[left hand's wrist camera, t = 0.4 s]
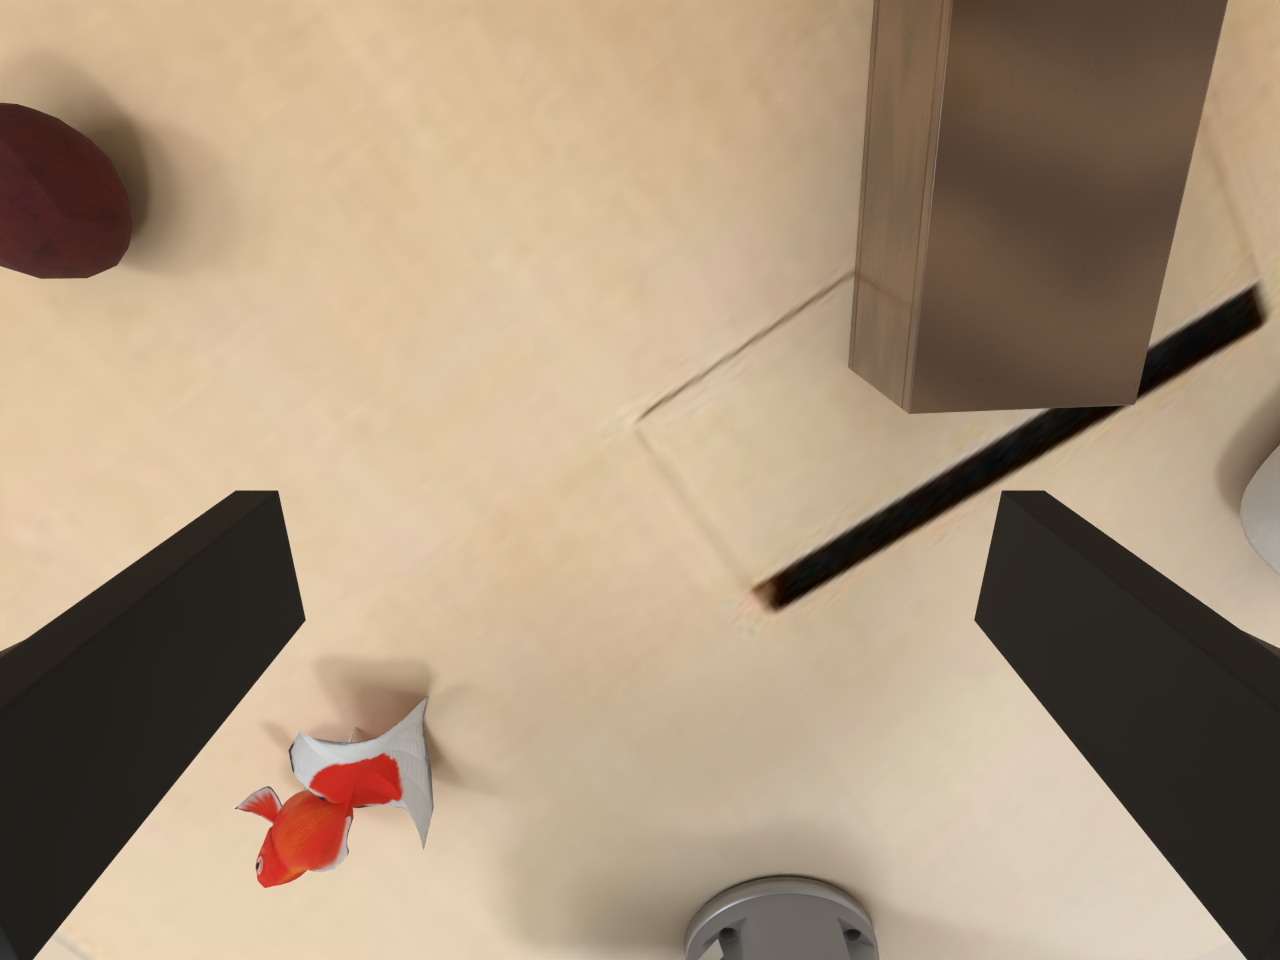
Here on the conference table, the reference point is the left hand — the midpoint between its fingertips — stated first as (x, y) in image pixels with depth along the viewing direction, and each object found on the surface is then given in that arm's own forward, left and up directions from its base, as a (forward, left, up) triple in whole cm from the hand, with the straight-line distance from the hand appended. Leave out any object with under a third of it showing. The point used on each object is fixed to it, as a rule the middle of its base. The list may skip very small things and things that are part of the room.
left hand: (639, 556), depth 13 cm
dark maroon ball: (+6, +28, -27) cm, 39 cm away
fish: (-30, +19, -27) cm, 44 cm away
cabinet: (+7, -16, -27) cm, 32 cm away
